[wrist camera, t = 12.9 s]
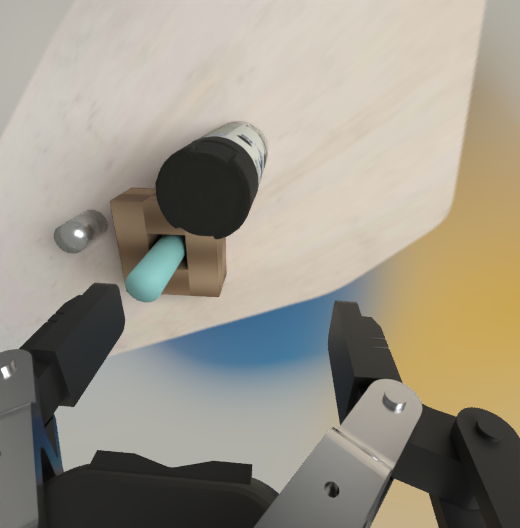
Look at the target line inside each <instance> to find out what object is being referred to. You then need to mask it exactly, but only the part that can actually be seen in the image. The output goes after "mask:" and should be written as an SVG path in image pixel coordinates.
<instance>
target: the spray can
mask: <svg viewBox="0 0 520 528" xmlns="http://www.w3.org/2000/svg"><path fill="white" fill-rule="evenodd" d="M267 155H268V149H267V143H266V140H265V138H264V136H263V134H262V133H261V131H260V130H258V129H257V128H256V127H255V126H253V125H251V124H249V123H246V122H232V123H228V124H226V125H224V126H222V127H221V128H219V129H217V130H215V131H213V132H211V133H209V134H207V135H205V136H203V137H201V138H199V139H197V140H195V141H193V142H192V143H190V144H189V145H187V146H186V147H184V148H182V149H181V150H179V151H177V152H176V153H174V154H173V155H171V156H170V157H169V158H168V159H167V160H166V161H165V162H164V164H163V166H162V167H161V169H160V172H159V174H158V178H157V181H156V197H157V202H158V205H159V207H160V210H161V212H162V214H163V215H164V217H165V218H166V220H167V221H168V222H169V223H170V224H171V226H173V227H174V228H175V229H177V228H182V229H184V230H185V231H187V232H188V233H191V234H194V235H198V236H209V237H210V236H213V237H214V239H222V238H224V237H227V236H229V235H231V234H232V233H233V232H235V231H236V230H238V229H239V228H240V226H241V225H242V224H243V223H244V221H245V220H246V218H247V216H248V213H249V211H250V208H251V206H252V203H253V201H254V198H255V196H256V194H257V191H258V186H259V183H260V180H261V176H262V173H263V170H264V167H265V164H266V160H267Z"/></svg>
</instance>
